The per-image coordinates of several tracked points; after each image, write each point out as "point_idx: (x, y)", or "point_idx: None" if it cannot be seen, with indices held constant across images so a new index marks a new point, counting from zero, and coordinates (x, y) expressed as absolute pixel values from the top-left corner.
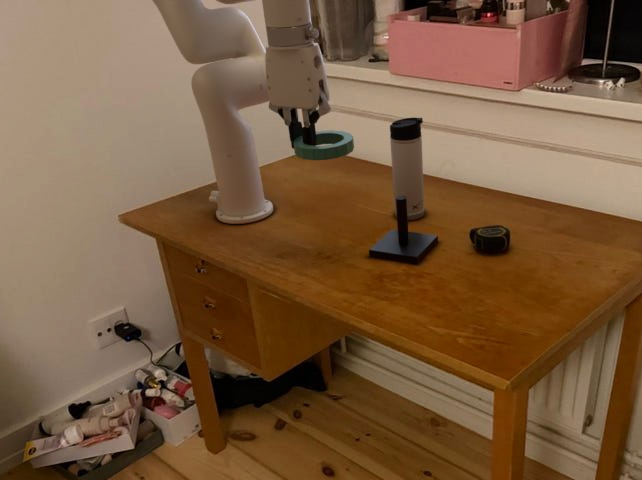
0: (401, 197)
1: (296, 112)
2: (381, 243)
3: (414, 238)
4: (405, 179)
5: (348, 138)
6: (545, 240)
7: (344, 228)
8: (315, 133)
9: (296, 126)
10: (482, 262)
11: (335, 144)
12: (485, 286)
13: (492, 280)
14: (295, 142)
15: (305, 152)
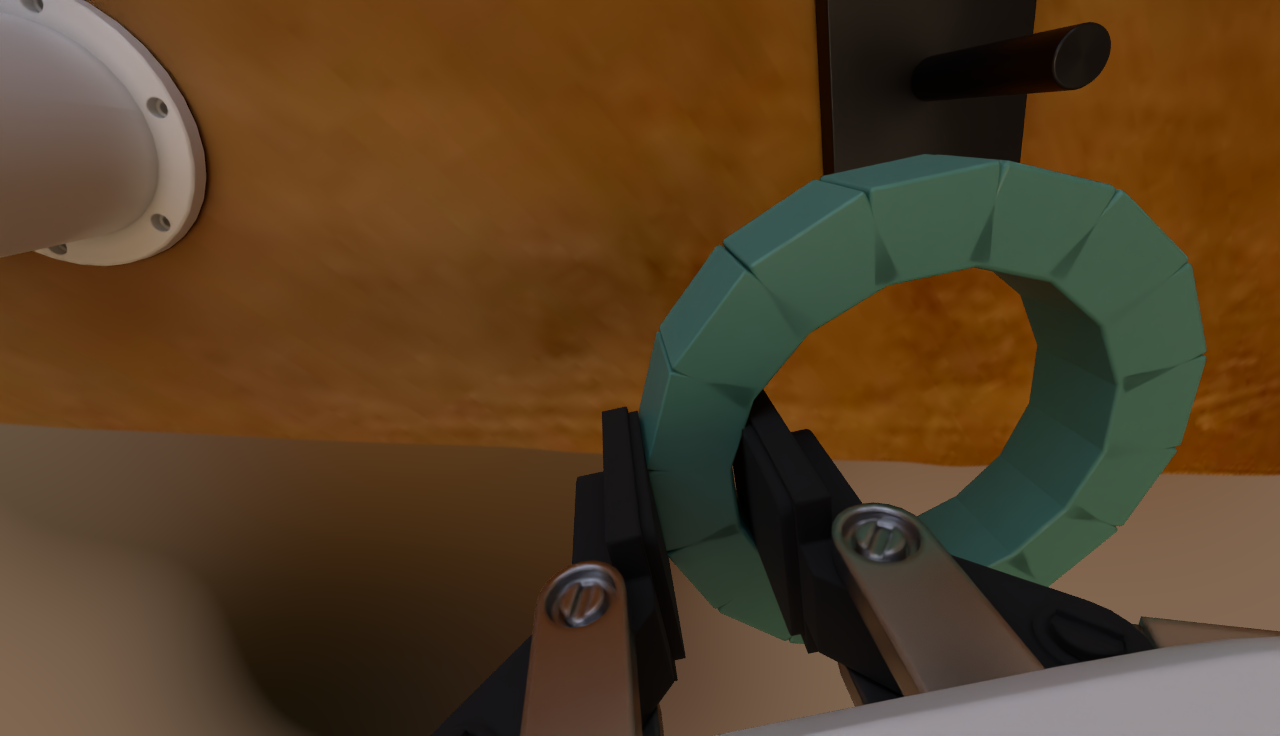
0: (1083, 54)
1: (636, 688)
2: (853, 133)
3: (957, 17)
4: None
5: (1164, 339)
6: None
7: (582, 27)
8: (836, 472)
9: (674, 608)
10: (1220, 20)
11: (1094, 501)
12: (1243, 176)
13: (1263, 129)
14: (736, 607)
15: None
